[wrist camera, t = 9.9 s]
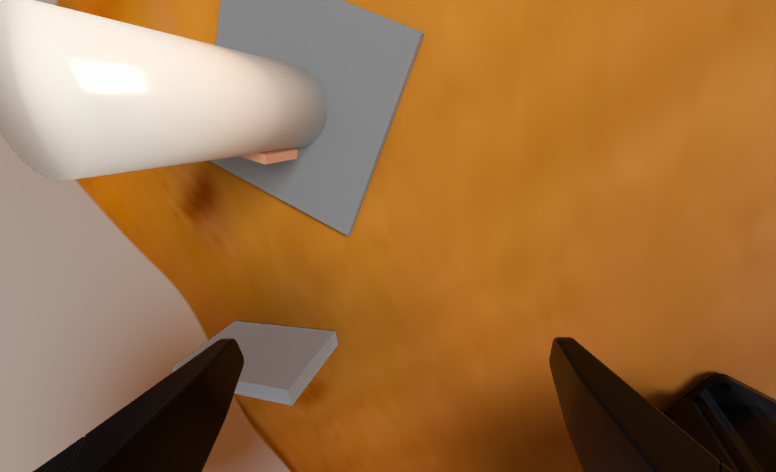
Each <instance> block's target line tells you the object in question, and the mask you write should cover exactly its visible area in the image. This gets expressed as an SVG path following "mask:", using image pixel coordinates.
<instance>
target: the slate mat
mask: <svg viewBox="0 0 776 472" xmlns="http://www.w3.org/2000/svg"><path fill="white" fill-rule="evenodd" d="M423 36H424V34H423V33H422V32H419V31H417V30H415V29H412V28H410V27H407V26H405V25H402V24H400V23H397V22H395V21H392V20H390V19H387V18H385V17H382V16H380V15H378V14H375V13H373V12H370V11H368V10H365V9H363V8H360V7H358V6H355V5H353V4H350V3H348V2H345V1H343V0H221V3H220V12H219V21H218V30H217V39H216V46H220V47H225V48H229V49H233V50H237V51H241V52H245V53H249V54H253V55H257V56H261V57H265V58H269V59H273V60H277V61H281V62H285V63H289V64H293V65H297V66H300V67H302V68H304V69H306V70H307V71H309V72H310V73H311V74H312V75H313V76H314V77H315V78H316V79H317V81H318V82H319V84H320V85H321V87H322V89H323V92H324V95H325V98H326V104H327V117H326V123H325V126H324V128H323V131H322V133H321V134H320V136H319V137H318V138H317V139H316V140H315V141H314V142H313V143H311V144H310V145H308V146H305V147H301V148H294V149H296V150H298V153H297V159H292V160H287V161H282V162H276V163H271V164H266V165H265V164H262V163H259V162H256V161H252V160H249V159H246V158H243V157H240V156H237V157H230V158H223V159H216V160H209V161H210V162H211V163H213V164H215V165H217V166H219V167H221V168H223V169H224V170H226V171H228V172H230V173H232V174H234V175H236V176H237V177H239V178H241V179H243V180H245V181H247V182H249V183H250V184H252V185H254V186H256V187H258V188H260V189H261V190H263V191H265V192H267V193H269V194H271V195H273V196H274V197H276V198H278V199H280V200H282V201H284V202H286V203H287V204H289V205H291V206H293V207H295V208H297V209H299V210H300V211H302V212H304V213H306V214H308V215H310V216H311V217H313V218H315V219H317V220H319V221H321V222H323V223H324V224H326V225H328V226H330V227H332V228H334V229H336V230H337V231H339V232H341V233H343V234H345V235H347V236H349V235H350V234H351V232H352V229H353V226H354V223H355V221H356V218H357V215H358V213H359V210H360V207H361V204H362V202H363V199H364V196H365V194H366V191H367V188H368V185H369V183H370V180H371V177H372V174H373V172H374V169H375V166H376V164H377V161H378V158H379V155H380V153H381V150H382V147H383V145H384V142H385V139H386V136H387V134H388V131H389V128H390V125H391V123H392V120H393V117H394V115H395V112H396V109H397V106H398V104H399V101H400V98H401V96H402V93H403V90H404V87H405V85H406V82H407V79H408V76H409V74H410V71H411V68H412V66H413V63H414V60H415V57H416V55H417V52H418V49H419V47H420V44H421V41H422V38H423Z"/></svg>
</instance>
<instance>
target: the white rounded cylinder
mask: <svg viewBox="0 0 776 472" xmlns="http://www.w3.org/2000/svg"><path fill="white" fill-rule="evenodd" d="M326 117H327V104H326V98H325V95H324V92H323V89H322V87H321V85H320V84H319V82H318V81H317V79H316V78H315V77H314V76H313V75H312V74H311V73H310V72H309V71H307V70H306V69H304V68H302V67H300V66H297V65H293V64H289V63H285V62H281V61H277V60H273V59H269V58H265V57H261V56H257V55H253V54H249V53H245V52H241V51H237V50H233V49H229V48H225V47H220V46H216V45H212V44H208V43H204V42H200V41H196V40H192V39H188V38H184V37H180V36H176V35H172V34H168V33H164V32H160V31H156V30H152V29H148V28H144V27H140V26H136V25H132V24H128V23H124V22H120V21H116V20H112V19H108V18H104V17H100V16H96V15H92V14H88V13H84V12H80V11H76V10H72V9H68V8H64V7H59V6H55V5H51V4H47V3H43V2H39V1H35V0H0V133H1V134H2V136H3V137H4V139H5V140H6V142H7V143H8V144H9V146H10V147H11V148H12V149H13V151H14V152H15V153H16V154H17V155H18V156H19V157H20V158H21V159H22V160H23V161H24V162H25V163H26V164H27V165H28V166H30V167H31V168H32V169H33V170H35V171H36V172H38V173H39V174H41V175H43V176H45V177H47V178H50V179H53V180H58V181H67V180H74V179H81V178H88V177H95V176H102V175H109V174H116V173H124V172H131V171H138V170H145V169H152V168H159V167H166V166H173V165H180V164H187V163H194V162H201V161H209V160H216V159H223V158H230V157H237V156H240V157H243V158H246V159H249V160H252V161H256V162H259V163H262V164H265V165H266V164H271V163H276V162H282V161H287V160H292V159H297V153H298V150H296V149H294V148H301V147H305V146H308V145H310V144H311V143H313V142H314V141H315V140H316V139H317V138H318V137H319V136H320V134H321V133H322V131H323V128H324V126H325V123H326Z"/></svg>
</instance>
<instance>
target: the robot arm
mask: <svg viewBox="0 0 776 472" xmlns="http://www.w3.org/2000/svg"><path fill="white" fill-rule="evenodd" d="M549 362H550V368H551V372H552V376H553V380H554V383H555V387H556V391H557V394H558V398H559V402H560V405H561V409H562V413H563V417H564V420H565V423H566V427H567V430H568V432H569V435H570V438H571V440H572V443H573V446H574V448H575V451H576V453H577V456H578V458H579V461H580V464H581V466H582V469H583V471H584V472H776V400H775V399H773V398H771V397H769V396H767V395H765V394H763V393H761V392H759V391H757V390H755V389H753V388H751V387H749V386H747V385H745V384H743V383H742V382H740V381H738V380H736V379H734V378H732V377H730V376H728V375H725V374H713V375H712V376H710V377H708V378H707V379H706V380H705V381H703V382H702V383H701V384H700V385H698V386H697V387H696V388H695V389H693V390H692V391H691V392H690V393H688V394H687V395H686V396H685V397H684V398H682V399H681V400H680V401H679V402H677V403H676V404H675V405H674V406H672V407H671V408H670V409H669V410H667V411H666V412H665V413H664V414H663V413H662V412H661V411H659V410H658V409H657V408H656V407H655V406H653V405H652V404H651V403H650V402H649V401H647V400H646V399H645V398H644V397H643V396H641V395H640V394H639V393H638V392H637V391H635V390H634V389H633V388H632V387H631V386H629V385H628V384H627V383H626V382H625V381H623V380H622V379H621V378H620V377H619V376H617V375H616V374H615V373H614V372H613V371H611V370H610V369H609V368H608V367H607V366H605V365H604V364H603V363H602V362H601V361H599V360H598V359H597V358H596V357H595V356H593V355H592V354H591V353H590V352H589V351H587V350H586V349H585V348H584V347H583V346H581V345H580V344H579V343H578V342H577V341H575V340H574V339H573V338H570V337H556V338H554V340H553V343H552V349H551V354H550V360H549ZM243 365H244V356H243V354H242V352H241V349H240V347H239V345H238V343H237V341H236V340H235V339H233V338H222V339H219V340H218V341H216V342H215V343H213V344H212V345H211V346H209V347H208V348H206V349H205V350H204V351H202V352H201V353H199V354H198V355H197V356H195V357H194V358H192V359H191V360H190V361H188V362H187V363H185V364H184V365H183V366H181V367H180V368H178V369H177V370H176V371H174V372H173V373H171V374H170V375H169V376H168V377H166V378H164V379H163V380H162V381H160V382H159V383H157V384H156V385H155V386H153V387H152V388H150V389H149V390H148V391H146V392H145V393H143V394H142V395H141V396H139V397H138V398H137V399H135V400H134V401H132V402H131V403H130V404H128V405H127V406H125V407H124V408H122V409H121V410H120V411H118V412H117V413H115V414H114V415H113V416H111V417H110V418H108V419H107V420H106V421H104V422H103V423H101V424H100V425H99V426H97V427H96V428H94V429H93V430H92V431H90V432H89V433H87V434H86V435H85V437H82V438H80V439H79V440H78V441H76V442H75V443H73V444H72V445H70V446H69V447H68V448H66V449H65V450H63V451H62V452H61V453H59V454H58V455H56V456H55V457H53V458H52V459H51V460H49V461H48V462H46V463H45V464H44V465H42V466H40V467H39V468H38V469H36V470H35V471H33V472H202V469H203V468H204V465H205V463H206V461H207V458H208V456H209V454H210V452H211V450H212V447H213V445H214V443H215V441H216V438H217V436H218V434H219V432H220V429H221V427H222V425H223V423H224V420H225V418H226V415H227V413H228V410H229V407H230V404H231V401H232V398H233V395H234V392H235V389H236V386H237V383H238V381H239V378H240V375H241V372H242V369H243ZM721 383H726V384H725V385H722V386H718V385H719V384H721Z"/></svg>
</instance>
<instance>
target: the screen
mask: <svg viewBox="0 0 776 472" xmlns="http://www.w3.org/2000/svg"><path fill="white" fill-rule="evenodd" d="M222 338H233V339H235V340H236V341H237V343H238V345H239V347H240V349H241V352H242V354H243V356H244V365H243V369H242V372H241V375H240V378H239V381H238V383H237V386H236V389H235V392H234V394H238V395H243V396H248V397H252V398H257V399H262V400H267V401H271V402H276V403H281V404H286V405H290V406H292V405H293V404H294V403H295V401H296V400H297V399H298V397H299V396H300V395H301V393H302V392H303V391H304V389H305V388H306V387H307V385H308V384H309V383H310V381H311V380H312V379H313V377H314V376H315V375H316V373H317V372H318V371H319V369H320V368H321V367H322V365H323V364H324V363H325V361H326V360H327V359H328V357H329V356H330V355H331V354H332V352H333V351H334V350H335V348H336V347H337V346H338V341H337V336H336V331H329V330H319V329H309V328H300V327H290V326H281V325H271V324H261V323H252V322H242V321H234V322H233V323H231V324H230V325H229V326H227V327H226V328H225V329H223V330H222V331H221V332H219V333H218V334H217V335H215V336H214V337H212V338H211V339H210V340H208V341H207V342H206V343H204V344H203V345H202V346H200V347H199V348H198V349H196V350H195V351H194V352H192V353H191V354H190V355H188V356H187V357H186V358H184V359H183V360H182V361H180V362H179V363H178V364H176V365H175V366H174V367H172V371H173V372H174V371H176V370H177V369H178V368H180V367H181V366H183V365H184V364H185V363H187V362H188V361H190V360H191V359H192V358H194V357H195V356H197V355H198V354H199V353H201V352H202V351H204V350H205V349H206V348H208V347H209V346H211V345H212V344H213V343H215V342H216V341H218V340H219V339H222Z"/></svg>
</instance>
